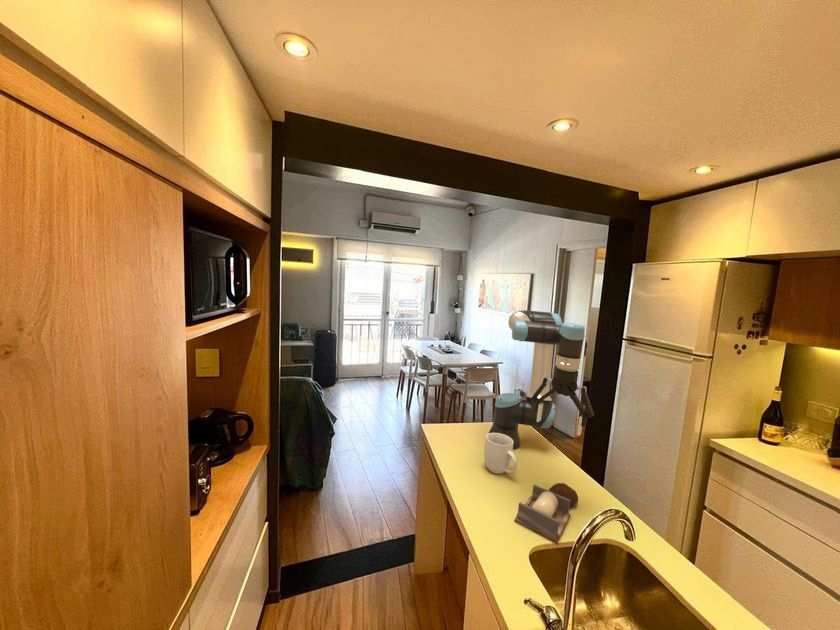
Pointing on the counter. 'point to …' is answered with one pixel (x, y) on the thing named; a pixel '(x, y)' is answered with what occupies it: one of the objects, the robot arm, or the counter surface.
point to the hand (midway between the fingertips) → (558, 427)
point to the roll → (546, 503)
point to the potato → (565, 492)
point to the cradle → (544, 516)
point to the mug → (499, 453)
